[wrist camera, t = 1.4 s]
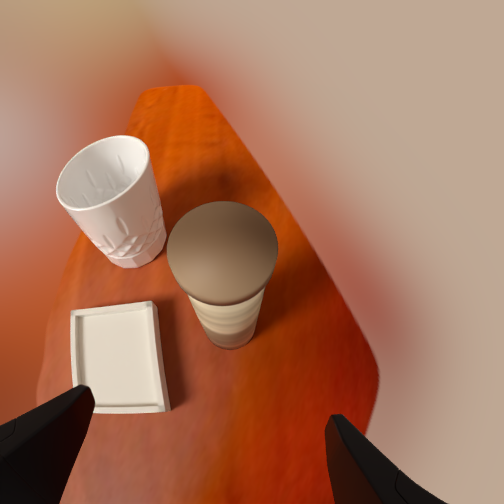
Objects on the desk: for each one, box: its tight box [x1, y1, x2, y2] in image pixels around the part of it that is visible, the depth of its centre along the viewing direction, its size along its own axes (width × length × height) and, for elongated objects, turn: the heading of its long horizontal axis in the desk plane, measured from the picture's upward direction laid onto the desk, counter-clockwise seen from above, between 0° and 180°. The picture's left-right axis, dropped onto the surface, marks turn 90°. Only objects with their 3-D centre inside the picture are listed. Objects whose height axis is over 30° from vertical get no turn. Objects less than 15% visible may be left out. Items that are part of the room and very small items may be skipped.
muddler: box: [167, 201, 278, 350], centre depth 17 cm, size 5×5×13 cm
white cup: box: [56, 135, 167, 268], centre depth 22 cm, size 8×8×10 cm
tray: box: [71, 301, 171, 413], centre depth 20 cm, size 9×8×2 cm
